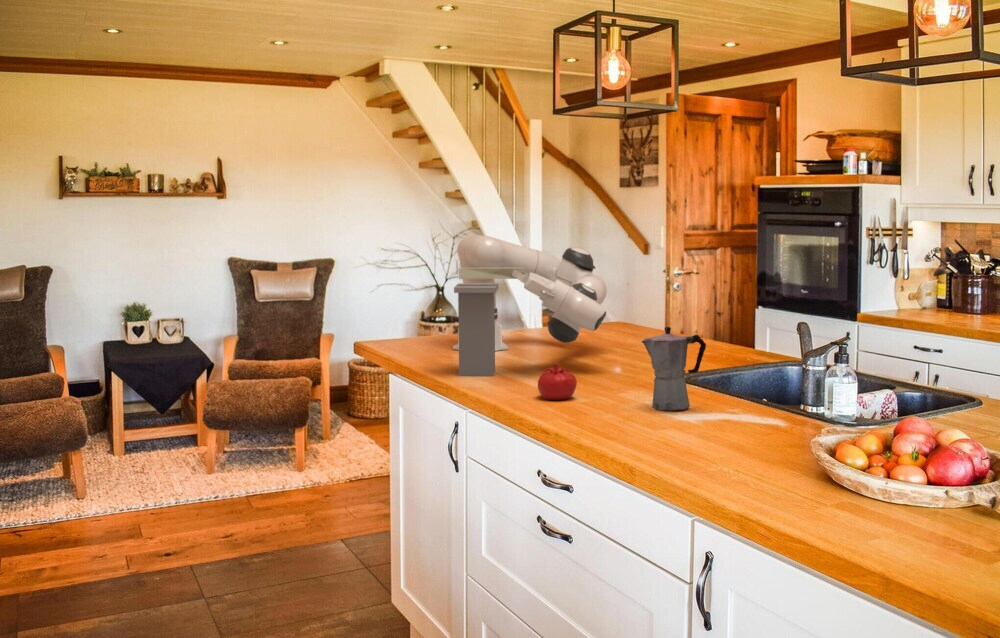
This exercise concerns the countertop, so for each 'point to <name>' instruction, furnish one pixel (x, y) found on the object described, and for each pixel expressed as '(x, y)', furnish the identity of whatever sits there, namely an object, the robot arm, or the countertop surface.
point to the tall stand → (476, 328)
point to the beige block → (488, 273)
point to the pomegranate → (557, 384)
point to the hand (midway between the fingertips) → (513, 271)
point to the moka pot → (671, 368)
